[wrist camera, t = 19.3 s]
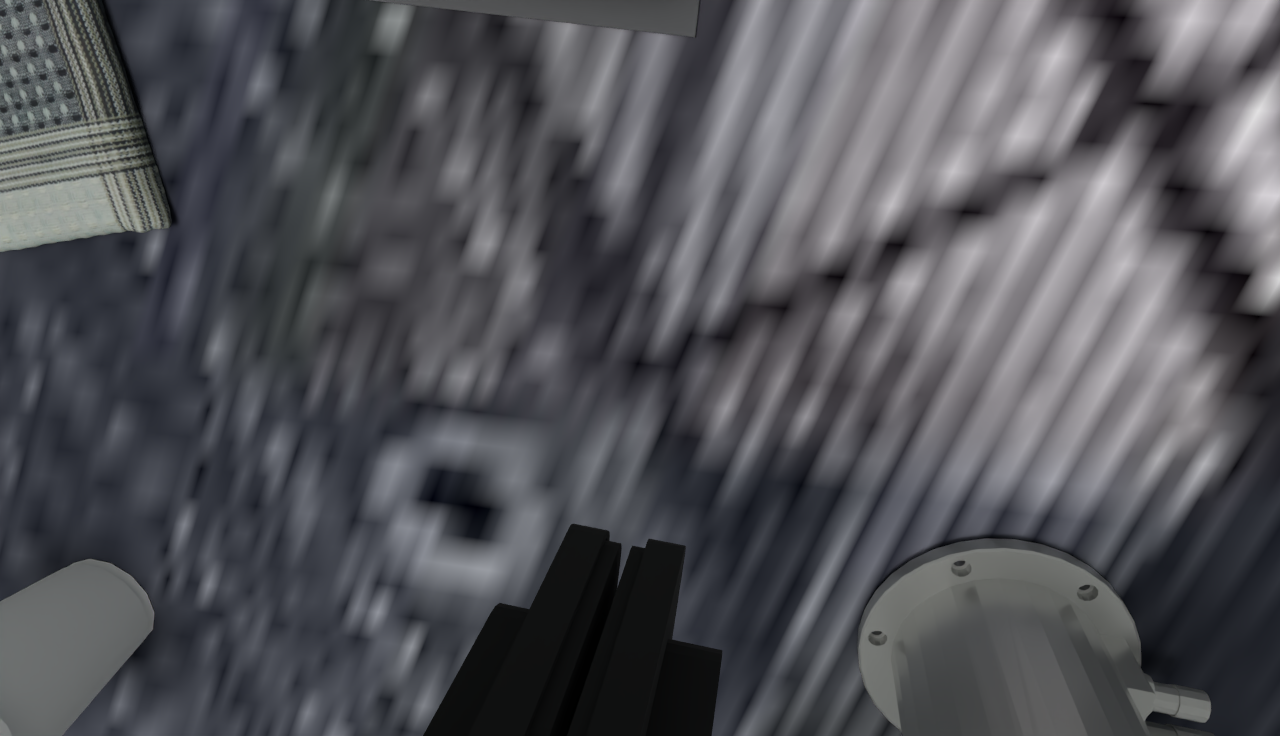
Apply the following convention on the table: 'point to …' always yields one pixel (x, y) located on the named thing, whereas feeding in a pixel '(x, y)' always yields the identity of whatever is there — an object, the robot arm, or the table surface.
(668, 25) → the dock mat
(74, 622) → the foam cup
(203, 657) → the table surface
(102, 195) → the dish towel
